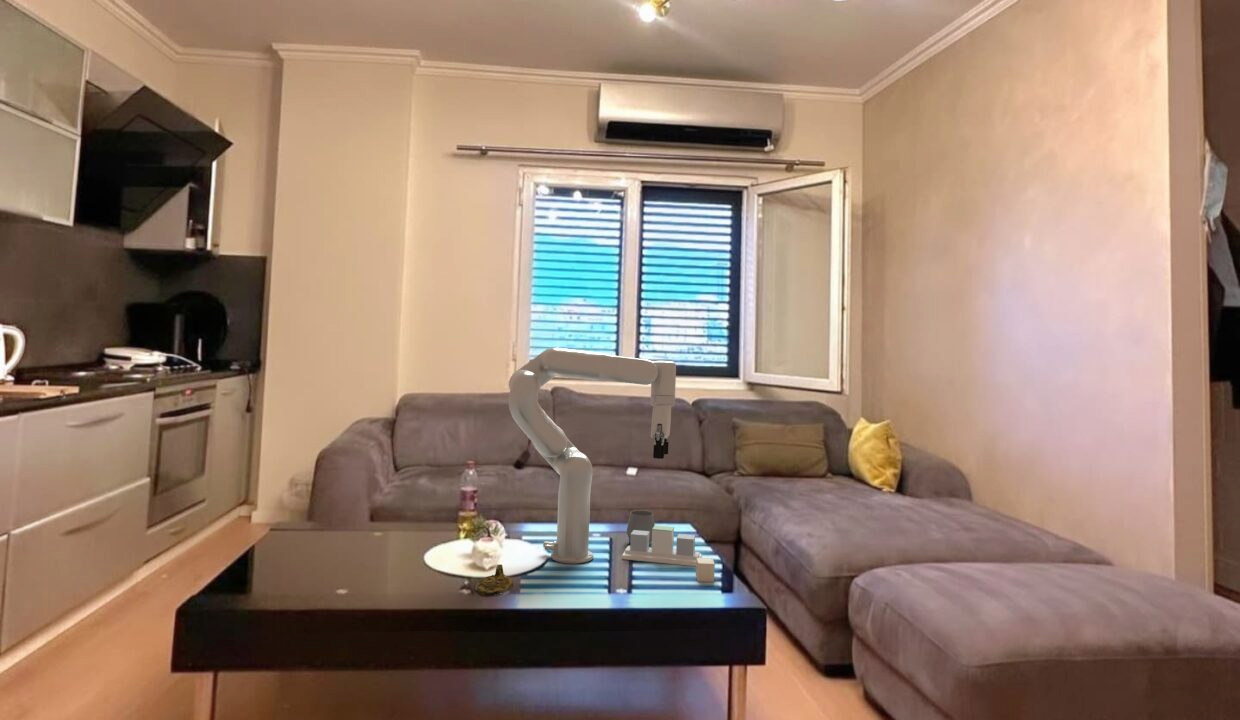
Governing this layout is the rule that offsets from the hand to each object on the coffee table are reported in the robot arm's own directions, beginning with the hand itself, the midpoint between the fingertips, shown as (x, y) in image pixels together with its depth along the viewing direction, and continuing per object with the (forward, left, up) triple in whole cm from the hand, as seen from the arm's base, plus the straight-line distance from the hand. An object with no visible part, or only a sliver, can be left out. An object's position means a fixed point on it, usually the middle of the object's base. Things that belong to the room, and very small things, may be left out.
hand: (660, 456), depth 209 cm
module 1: (+2, -4, -28) cm, 28 cm away
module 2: (+16, -19, -30) cm, 39 cm away
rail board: (+2, -4, -30) cm, 31 cm away
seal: (-37, -42, -31) cm, 64 cm away
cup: (-7, +10, -31) cm, 33 cm away
